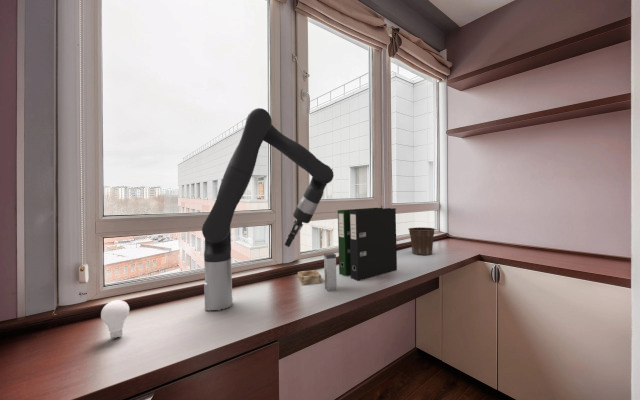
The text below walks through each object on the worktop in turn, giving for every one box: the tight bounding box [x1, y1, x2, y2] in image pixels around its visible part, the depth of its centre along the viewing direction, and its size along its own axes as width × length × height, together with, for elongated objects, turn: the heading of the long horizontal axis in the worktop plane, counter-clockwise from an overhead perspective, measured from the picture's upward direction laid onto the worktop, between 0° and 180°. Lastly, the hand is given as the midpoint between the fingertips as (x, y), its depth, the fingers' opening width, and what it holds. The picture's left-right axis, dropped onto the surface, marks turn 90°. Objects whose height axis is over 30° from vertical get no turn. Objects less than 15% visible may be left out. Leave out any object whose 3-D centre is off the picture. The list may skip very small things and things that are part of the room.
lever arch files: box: [337, 207, 398, 282], centre depth 139 cm, size 27×15×32 cm, turn 124°
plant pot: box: [408, 226, 436, 256], centre depth 179 cm, size 16×16×16 cm
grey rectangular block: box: [323, 252, 338, 292], centre depth 116 cm, size 4×4×15 cm
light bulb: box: [100, 299, 130, 339], centre depth 80 cm, size 7×7×11 cm
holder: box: [297, 269, 322, 286], centre depth 128 cm, size 9×9×4 cm
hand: (288, 242), depth 117 cm, fingers open, 8 cm apart
